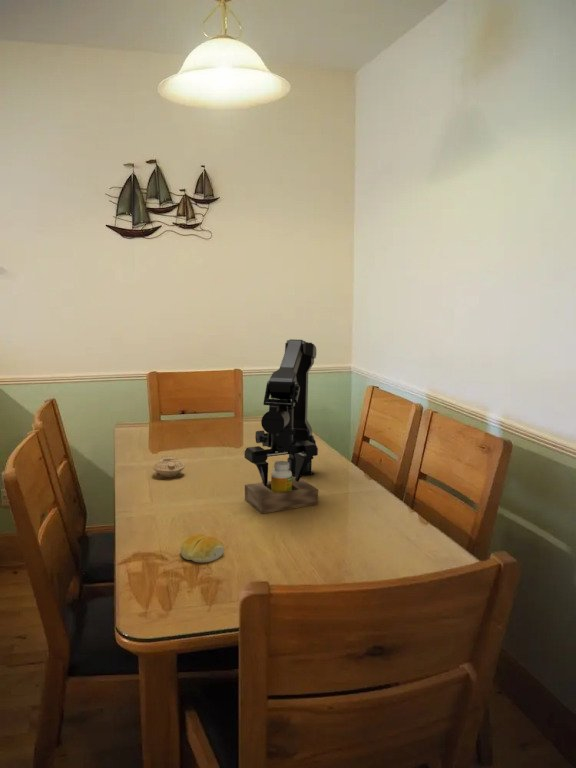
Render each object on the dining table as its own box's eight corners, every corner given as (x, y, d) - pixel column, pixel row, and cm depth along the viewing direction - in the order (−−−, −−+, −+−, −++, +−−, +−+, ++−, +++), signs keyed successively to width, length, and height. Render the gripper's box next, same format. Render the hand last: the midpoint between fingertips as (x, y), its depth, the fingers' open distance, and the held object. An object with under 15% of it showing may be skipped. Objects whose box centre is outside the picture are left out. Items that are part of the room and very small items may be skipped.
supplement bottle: (289, 503, 155) (290, 466, 153) (268, 501, 156) (269, 465, 154) (293, 496, 160) (294, 460, 158) (273, 494, 161) (274, 459, 160)
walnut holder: (298, 491, 166) (298, 477, 166) (317, 504, 157) (318, 489, 156) (244, 499, 159) (244, 484, 159) (261, 513, 150) (261, 498, 149)
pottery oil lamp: (178, 465, 188) (187, 447, 185) (178, 489, 177) (187, 471, 175) (151, 457, 185) (159, 439, 182) (149, 481, 174) (157, 463, 172)
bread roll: (197, 543, 133) (197, 525, 132) (229, 553, 128) (229, 535, 127) (171, 556, 126) (171, 538, 125) (204, 567, 121) (204, 549, 120)
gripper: (299, 415, 166) (298, 470, 168) (236, 421, 158) (236, 479, 160) (319, 424, 156) (318, 482, 159) (253, 431, 148) (253, 492, 150)
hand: (281, 483), depth 157 cm, fingers open, 9 cm apart
